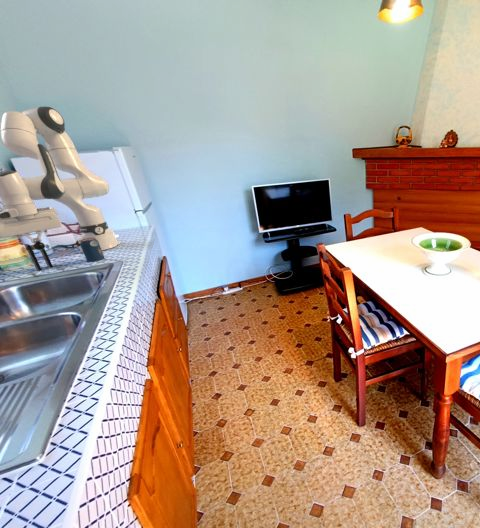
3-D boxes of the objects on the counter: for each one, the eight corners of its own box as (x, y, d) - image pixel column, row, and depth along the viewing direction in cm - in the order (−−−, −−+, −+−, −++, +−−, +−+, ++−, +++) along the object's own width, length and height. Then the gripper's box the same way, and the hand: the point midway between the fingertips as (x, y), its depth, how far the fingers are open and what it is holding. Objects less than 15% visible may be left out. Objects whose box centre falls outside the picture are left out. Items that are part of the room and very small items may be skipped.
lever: (47, 248, 133) (43, 240, 132) (36, 250, 130) (32, 243, 129) (41, 249, 141) (37, 242, 140) (30, 252, 138) (26, 244, 137)
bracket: (62, 269, 143) (49, 242, 138) (37, 276, 136) (22, 248, 131) (54, 265, 149) (42, 239, 144) (29, 272, 142) (15, 244, 137)
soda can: (107, 260, 151) (99, 238, 147) (91, 265, 146) (81, 242, 141) (102, 258, 155) (93, 236, 150) (86, 263, 149) (76, 240, 145)
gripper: (52, 205, 136) (64, 235, 141) (-15, 215, 120) (2, 248, 125) (56, 206, 133) (69, 236, 138) (-12, 216, 117) (5, 249, 122)
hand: (36, 242), depth 131 cm, fingers closed
